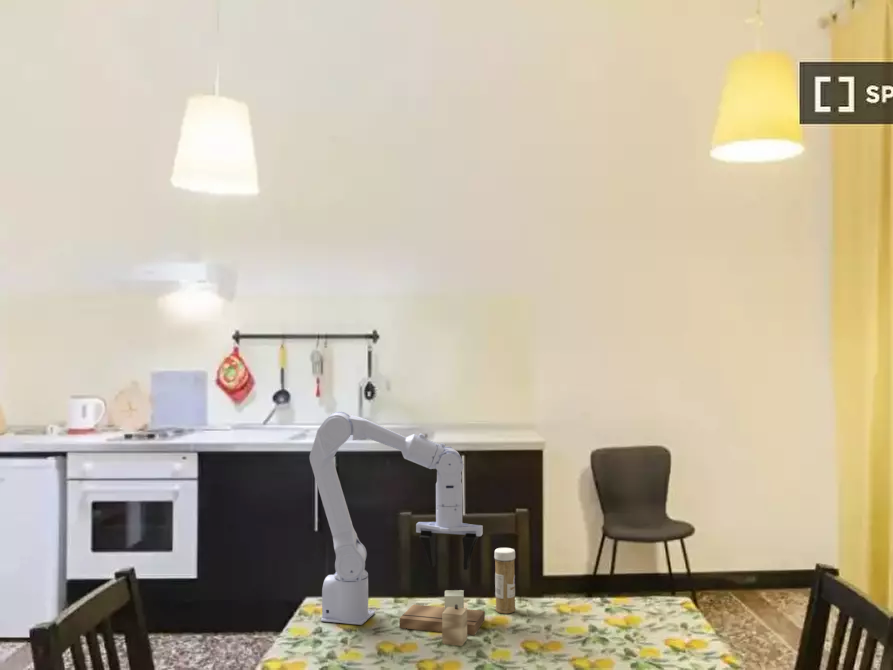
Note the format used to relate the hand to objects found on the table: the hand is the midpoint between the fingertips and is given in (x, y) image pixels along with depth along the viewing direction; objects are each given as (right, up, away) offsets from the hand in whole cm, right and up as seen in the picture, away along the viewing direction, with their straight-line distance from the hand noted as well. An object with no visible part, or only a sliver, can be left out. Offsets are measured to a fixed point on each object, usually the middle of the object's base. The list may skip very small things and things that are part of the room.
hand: (449, 567), depth 172 cm
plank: (-1, -10, -5) cm, 12 cm away
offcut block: (+1, -8, -4) cm, 9 cm away
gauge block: (+1, -10, -15) cm, 18 cm away
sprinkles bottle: (+12, -11, +3) cm, 16 cm away
